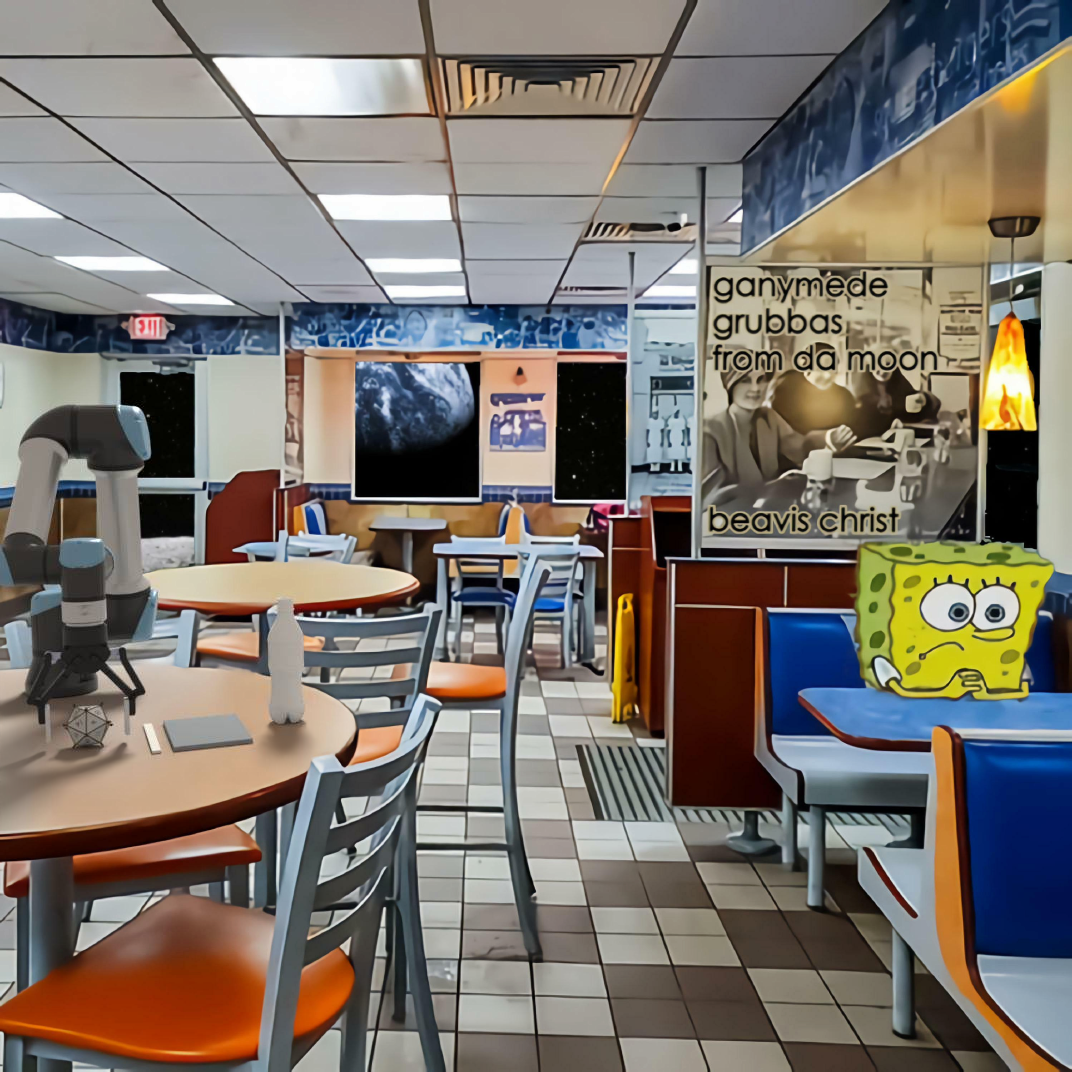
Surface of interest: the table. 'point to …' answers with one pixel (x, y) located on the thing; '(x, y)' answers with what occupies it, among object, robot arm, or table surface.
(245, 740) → the mat
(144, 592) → the robot arm
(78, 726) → the game die
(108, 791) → the table surface
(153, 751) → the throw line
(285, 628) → the water bottle
